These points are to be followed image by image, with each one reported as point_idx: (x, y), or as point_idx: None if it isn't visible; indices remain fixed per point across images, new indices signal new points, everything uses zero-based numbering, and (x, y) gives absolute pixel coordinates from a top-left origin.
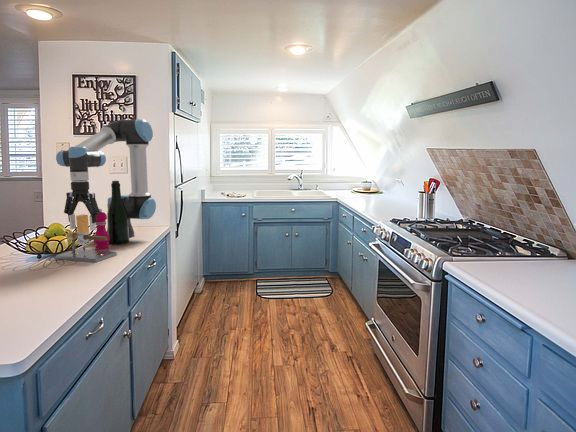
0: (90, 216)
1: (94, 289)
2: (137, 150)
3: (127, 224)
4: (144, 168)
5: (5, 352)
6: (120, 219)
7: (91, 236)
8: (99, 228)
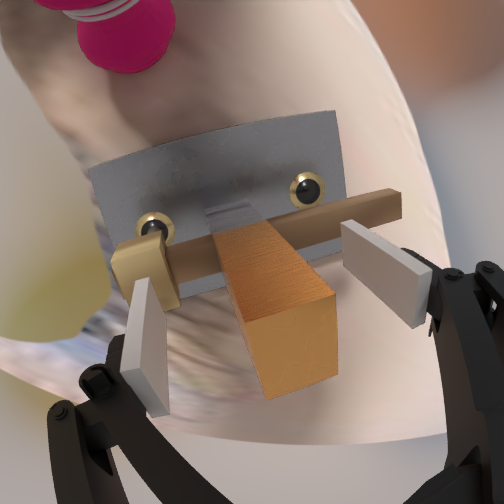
0: (421, 323)
1: None
2: None
3: None
4: None
5: (442, 432)
6: None
7: (320, 239)
8: (125, 16)
